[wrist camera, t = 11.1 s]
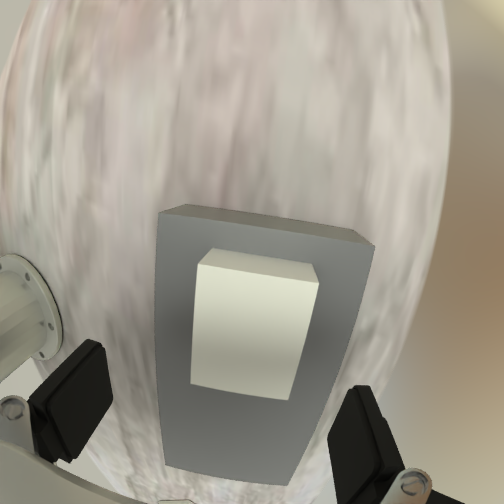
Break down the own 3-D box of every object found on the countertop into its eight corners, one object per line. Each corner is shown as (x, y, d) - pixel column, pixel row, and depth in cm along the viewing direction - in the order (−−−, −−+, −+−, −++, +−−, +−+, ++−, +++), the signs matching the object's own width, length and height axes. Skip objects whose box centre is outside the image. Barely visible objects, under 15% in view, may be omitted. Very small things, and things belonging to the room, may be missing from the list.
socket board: (287, 450, 26) (287, 485, 21) (178, 431, 26) (165, 464, 22) (353, 230, 20) (375, 246, 15) (185, 204, 20) (158, 212, 15)
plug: (286, 330, 22) (287, 400, 14) (217, 319, 22) (190, 383, 15) (304, 243, 20) (319, 283, 13) (227, 231, 21) (197, 263, 13)
